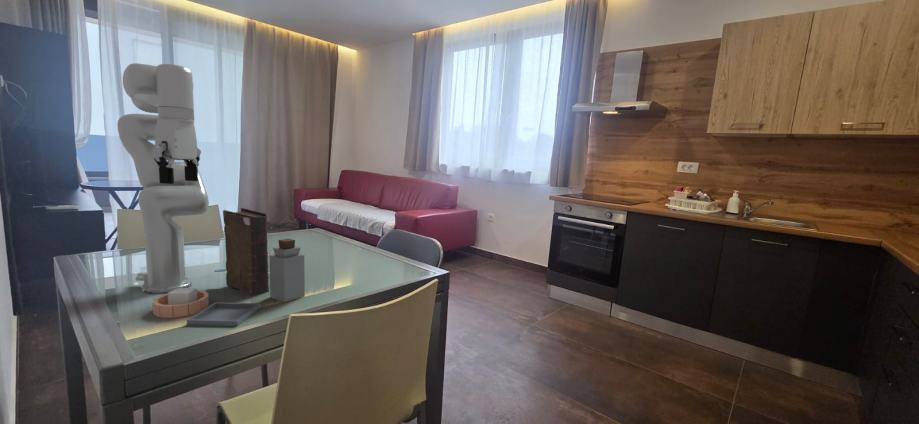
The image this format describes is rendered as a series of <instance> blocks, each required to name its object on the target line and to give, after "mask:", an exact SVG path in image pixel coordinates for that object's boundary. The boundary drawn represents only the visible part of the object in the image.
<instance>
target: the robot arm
mask: <svg viewBox="0 0 919 424" xmlns="http://www.w3.org/2000/svg"><path fill="white" fill-rule="evenodd" d="M193 80H194V79H193V73H192V70H190V68H188V67H186V66H183V65H180V64H179V65H178V64H171V63H169V64H168V63H160V64H158V65H151V64H147V63H146V64H144V63H137V62H136V63H130V64H129V65H127V67H126V68H125V69H124V71H123V75H122V86H123V89H124V91H125V94H126V95H127V96H128V97H129V98H130V99H131V101H132V103H133V105H134V106H135V107H136V108H137V109H139V110H141V111H142V112H145V113H127V114H124V115H122V116H120V117H119V118H118V120H117V131H118V137H119V139H120V143H121V144H122V146H123V147H124V149H125V150H126V152H127V153H128V154H129V155H130V156H131V158H132V159H133V164H134V168H135V171H136V175H137V178H138V181H139V183H140V186H141V187H142V188H143V189H141V190H140V192H139V194H138V197H137V200H138V206H139V209H140V213H141V217H142V223H143V231H144V244H145V260H146V272H138V273H137V275H136V276H135V281H139V282H142V281H143V284H142V285H141V291H142V290H144V291H147V292H146V293H148V292H152V293H151V294H160V293H161V294H162V293H163V292H164V293H169V292H171V291H173V290H175V289H177V288H189V287H191V285H192V283H193V282H192V279H191V278H189V277H186V265H185V263H186V261H185V245H184V230H183V229H182V227H181V225H179V224H178V223H177V222H176V221H174V219H173V218H175V217H176V218H177V217H186V216H187V217H188V216H198V215H203V214H204V213H206V212H207V211H208V209H209V205H210V200H209V196H208V195H209V194H208V192H207V190H206V186H205V184H204V180H203V179H202V176H201V174H200V171H199V169H198V167H199V165H200V163H199V162H200V160H201V153H202V152H201V149H200V148H198V142H197V141H198V139H197V134H196V127H195V109H194V108H195V105H194V104H195V101H194V81H193ZM146 113H147V114H146ZM149 113H150V114H149ZM151 141H153V142H154V143H152V142H151ZM144 291H143V292H144ZM164 293H163V294H164Z"/></svg>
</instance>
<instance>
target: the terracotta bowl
mask: <svg viewBox="0 0 919 424" xmlns="http://www.w3.org/2000/svg"><path fill="white" fill-rule="evenodd" d="M209 306H210V303H209V292H207V291H204V290H198V289H197V301H193V302H190V303H185V304H177V305H168V293H166V294H163V295H160V296H157V297H156V298H154V299H153V301H152V314H153V315H154V316H156V317H158V318H164V319H175V318H182V317H189V316H192V315H196V314H198V313H199V312H201V311H202V310H204V309H205V308H207V307H209Z"/></svg>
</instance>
